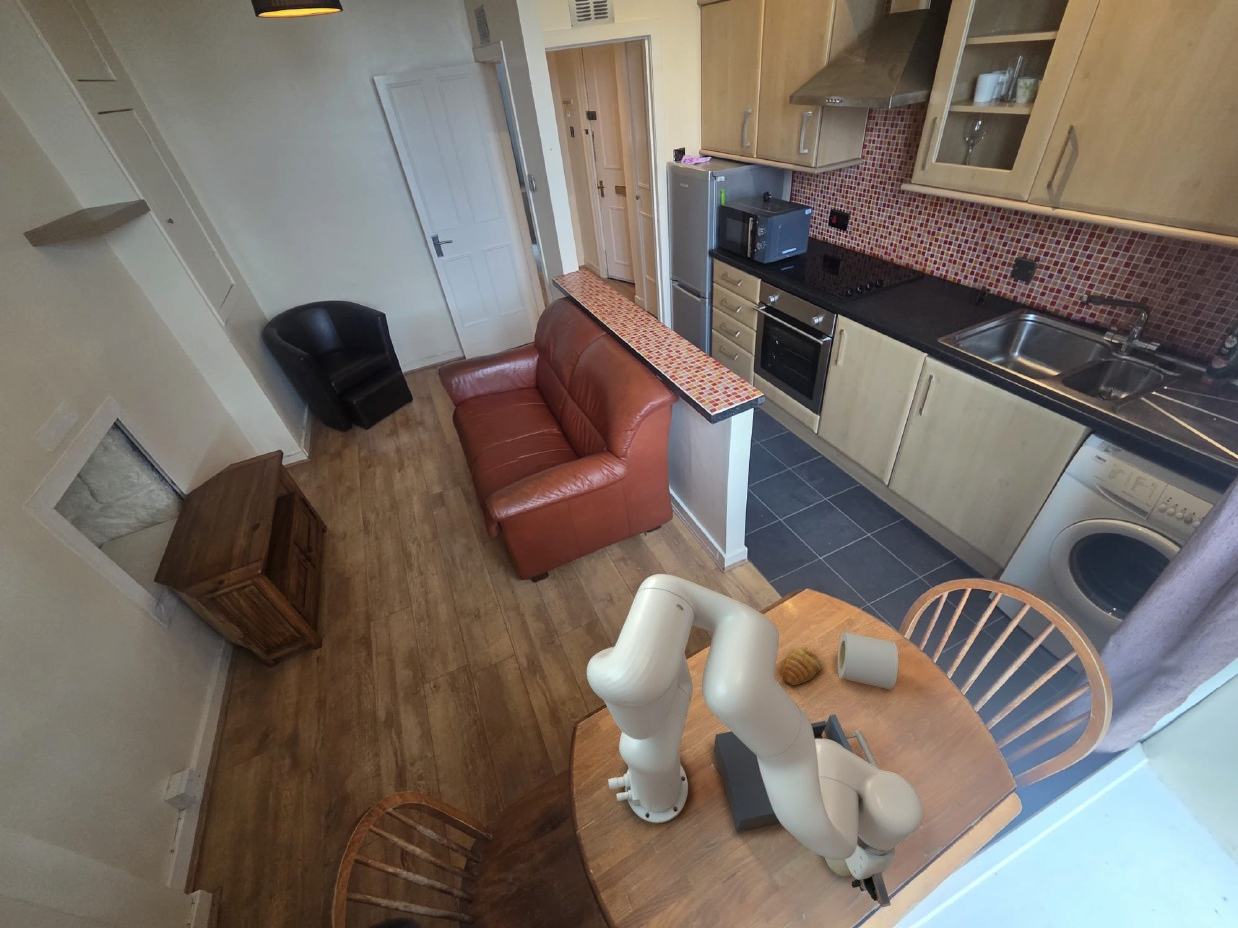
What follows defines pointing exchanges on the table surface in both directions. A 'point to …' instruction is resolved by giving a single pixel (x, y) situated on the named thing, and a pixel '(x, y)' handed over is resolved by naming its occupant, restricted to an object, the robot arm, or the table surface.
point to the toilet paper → (867, 660)
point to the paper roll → (839, 867)
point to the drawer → (842, 736)
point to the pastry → (800, 666)
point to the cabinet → (743, 783)
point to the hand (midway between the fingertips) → (846, 848)
